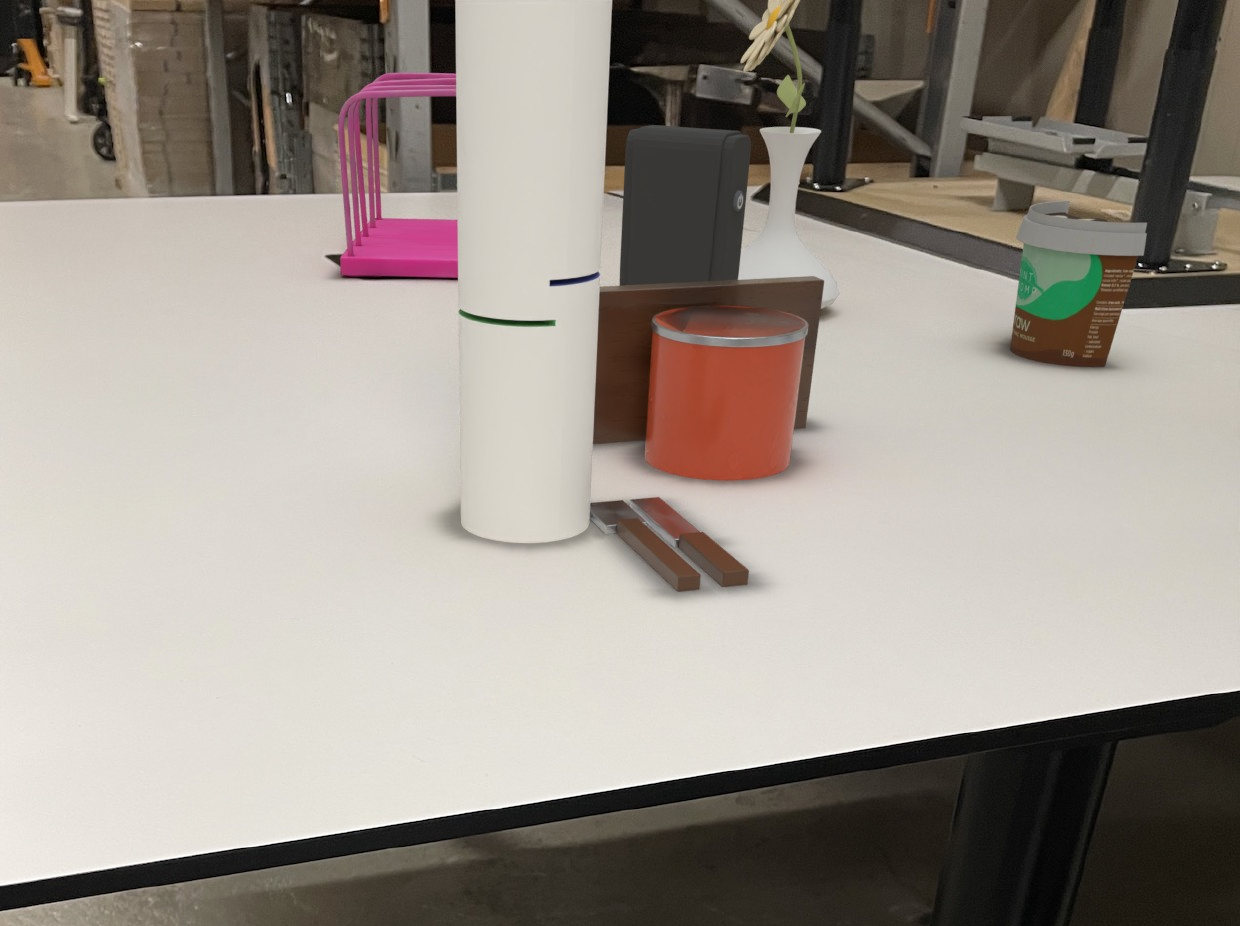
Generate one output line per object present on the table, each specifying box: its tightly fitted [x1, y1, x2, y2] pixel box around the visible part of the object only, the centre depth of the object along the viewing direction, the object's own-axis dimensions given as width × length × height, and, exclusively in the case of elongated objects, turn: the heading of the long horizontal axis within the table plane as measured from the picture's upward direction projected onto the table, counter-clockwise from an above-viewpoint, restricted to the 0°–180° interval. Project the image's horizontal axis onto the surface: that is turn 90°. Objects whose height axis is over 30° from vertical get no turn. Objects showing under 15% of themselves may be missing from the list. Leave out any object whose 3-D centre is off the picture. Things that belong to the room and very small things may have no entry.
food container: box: [1009, 200, 1148, 368], centre depth 109 cm, size 12×6×10 cm, turn 10°
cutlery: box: [590, 496, 750, 593], centre depth 75 cm, size 13×5×1 cm, turn 16°
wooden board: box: [593, 276, 824, 445], centre depth 90 cm, size 16×2×9 cm, turn 106°
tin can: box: [644, 305, 808, 482], centre depth 86 cm, size 9×9×8 cm
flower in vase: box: [738, 0, 840, 310], centre depth 116 cm, size 13×11×25 cm
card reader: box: [618, 124, 752, 286], centre depth 109 cm, size 9×4×15 cm, turn 57°
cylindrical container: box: [454, 0, 613, 544], centre depth 71 cm, size 7×7×25 cm
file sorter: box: [337, 72, 458, 279], centre depth 140 cm, size 17×25×16 cm
